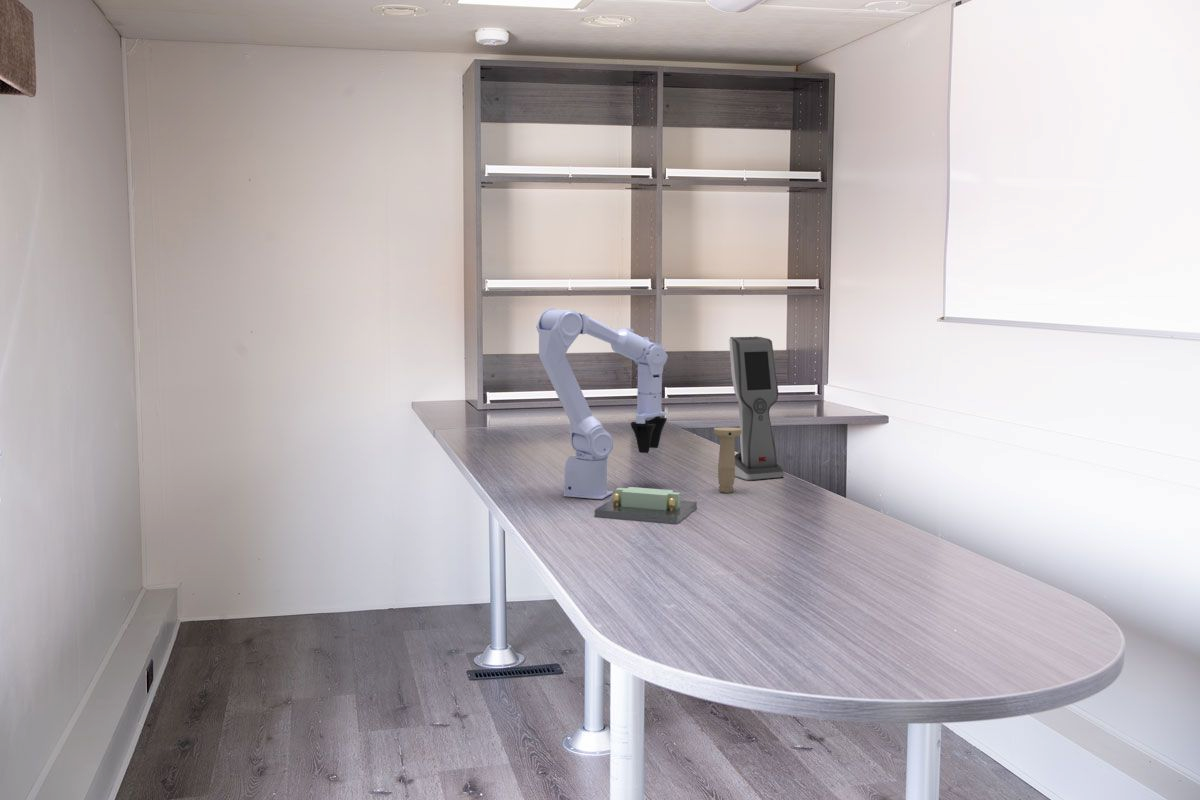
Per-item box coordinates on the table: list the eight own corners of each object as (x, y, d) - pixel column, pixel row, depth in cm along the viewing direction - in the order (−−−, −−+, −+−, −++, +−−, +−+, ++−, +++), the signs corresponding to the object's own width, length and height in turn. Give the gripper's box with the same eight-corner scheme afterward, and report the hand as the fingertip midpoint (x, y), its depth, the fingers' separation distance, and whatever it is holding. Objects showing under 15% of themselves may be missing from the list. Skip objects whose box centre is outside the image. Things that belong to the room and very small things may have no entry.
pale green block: (612, 505, 235) (612, 490, 235) (620, 500, 241) (620, 486, 240) (675, 511, 231) (675, 496, 230) (682, 505, 236) (682, 491, 236)
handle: (741, 493, 256) (743, 430, 255) (714, 494, 256) (716, 430, 254) (736, 489, 261) (738, 427, 259) (710, 490, 260) (711, 427, 259)
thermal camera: (757, 469, 288) (761, 336, 284) (786, 477, 277) (791, 339, 273) (720, 472, 283) (723, 337, 279) (747, 481, 272) (751, 340, 267)
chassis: (594, 516, 231) (594, 498, 231) (618, 501, 246) (618, 484, 246) (677, 524, 225) (677, 505, 225) (696, 508, 240) (696, 490, 240)
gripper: (657, 397, 250) (656, 456, 251) (674, 390, 263) (673, 446, 265) (627, 395, 252) (626, 454, 254) (646, 389, 266) (645, 444, 267)
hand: (648, 450), depth 260 cm, fingers open, 7 cm apart
